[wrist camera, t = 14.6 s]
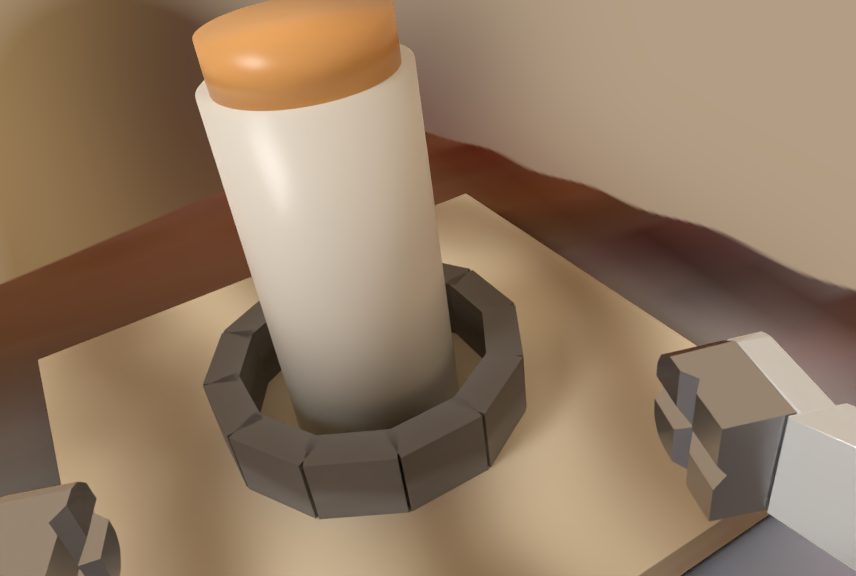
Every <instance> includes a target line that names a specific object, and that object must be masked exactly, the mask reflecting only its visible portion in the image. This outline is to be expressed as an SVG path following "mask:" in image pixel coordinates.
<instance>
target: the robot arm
mask: <svg viewBox="0 0 856 576" xmlns="http://www.w3.org/2000/svg"><path fill="white" fill-rule="evenodd" d="M656 376H657V378H658V379H659V381H660V382H661V384H662V385H663V389H662V390H661V391H660V392H659V394H658V395H657V396H656V397H655V402H654V418H655V422H656V427H657V432H658V435H659V438H660V440H661V442H662V445H663V447H664V449H665V451H666V452H667V454H668V456H669V458H670V459H671V461H673V462H675V463H676V464H678V465H680V466H682V467H684V468H686V469H687V478H686V486H687V487H688V489H689V491H690V492H691V494H692V496H693V497H694V499H695V500H696V502H697V504H698V505H699V507H700V508H701V510H702V512H703V513H704V515H705V517H706V518H707V520H708V521H709V522H710V521H715V520H720V519H724V518H729V517H734V516H739V515H744V514H748V513H753V512H758V511H763V510H768V511H767V513H769V514H770V515H772V516H773V517H775V518H776V519H778V520H779V521H781V522H782V523H784V524H785V525H787V526H788V527H790V528H791V529H793V530H794V531H796V532H797V533H799V534H800V535H802V536H803V537H805V538H806V539H808V540H809V541H811V542H812V543H814V544H815V545H817V546H818V547H820V548H821V549H823V550H824V551H826V552H827V553H829V554H830V555H832V556H833V557H835V558H836V559H838V560H839V561H841V562H842V563H844V564H845V565H847V566H848V567H850V568H851V569H853V570H854V571H856V407H855V406H852V405H850V404H847V403H845V404H840V405H836V404H835V403H834V402H833V401H832V400H831V399H830V398H829V397H828V396H827V395H826V394H825V393H824V392H823V391H822V390H821V389H820V388H819V387H818V385H817V384H816V383H815V382H814V381H813V380H812V379H811V378H810V377H809V376H808V375H807V374H806V373H805V372H804V371H803V370H802V369H801V368H800V367H799V365H798V364H797V363H796V362H795V361H794V360H793V359H792V358H791V357H790V356H789V355H788V354H787V353H786V352H785V351H784V350H783V349H782V348H781V346H780V345H779V344H778V343H777V342H776V341H775V340H774V339H773V338H772V337H771V336H770V335H769V334H766V333H764V332H762V331H761V332H757V333H752V334H748V335H744V336H739V337H735V338H731V339H728V340H723V341H719V342H714V343H710V344H705V345H701V346H697V347H692V348H688V349H683V350H679V351H674V352H670V353H666V354H661V356H660V358H659V360H658V362H657V373H656ZM96 499H97V498H96V497H95V495H94V494H93V492H92V491H91V489H90V488H89V486H88V485H87V483H84V482H73V483H68V484H63V485H58V486H53V487H48V488H42V489H37V490H32V491H27V492H22V493H17V494H11V495H6V496H4V497H1V498H0V576H120V572H121V554H120V545H119V541H118V538H117V535H116V531H115V529H114V528H113V526H112V524H111V522H110V521H109V519H107V518H104V517H102V516H100V515H98V514H96V513H94V512H93V511H94V507H95V503H96Z"/></svg>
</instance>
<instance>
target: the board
mask: <svg viewBox="0 0 856 576" xmlns="http://www.w3.org/2000/svg"><path fill="white" fill-rule="evenodd" d="M435 212H436V220H437V227H438V235H439V242H440V250H441V257H442V265H443V272H444V280H445V287H446V295H447V302H448V310H449V317H450V325H451V332H452V340H453V347H454V355H455V362H456V370H457V377H458V385H459V391H458V392H457V394H456V395H455V396H454V397H453V398H451V399H449V400H447V401H445V402H443V403H441V404H439V405H437V406H435V407H433V408H431V409H429V410H427V411H425V412H423V413H421V414H419V415H417V416H415V417H413V418H411V419H409V420H407V421H405V422H403V423H401V424H399V425H397V426H395V427H393V428H391V429H385V430H373V431H361V432H350V433H338V434H326V435H314V434H312V433H309V432H306V431H304V430H301V428H300V426H299V424H298V421H297V418H296V415H295V411H294V408H293V405H292V402H291V399H290V396H289V392H288V389H287V386H286V383H285V380H284V377H283V373H282V370H281V367H280V364H279V361H278V358H277V354H276V351H275V348H274V345H273V342H272V339H271V335H270V332H269V329H268V326H267V323H266V320H265V316H264V313H263V310H262V307H261V304H260V301H259V297H258V294H257V291H256V288H255V285H254V282H253V278H252V277H250V278H247V279H245V280H242V281H240V282H237V283H234V284H232V285H229V286H227V287H224V288H222V289H219V290H216V291H214V292H211V293H209V294H206V295H204V296H201V297H198V298H196V299H193V300H191V301H188V302H186V303H183V304H180V305H178V306H175V307H173V308H170V309H168V310H165V311H162V312H160V313H157V314H155V315H152V316H149V317H147V318H144V319H142V320H139V321H137V322H134V323H131V324H129V325H126V326H124V327H121V328H119V329H116V330H113V331H111V332H108V333H106V334H103V335H101V336H98V337H95V338H93V339H90V340H88V341H85V342H83V343H80V344H77V345H75V346H72V347H70V348H67V349H65V350H62V351H59V352H57V353H54V354H52V355H49V356H46V357H44V358H41V359H39V360H38V363H39V368H40V374H41V379H42V385H43V390H44V395H45V401H46V406H47V411H48V417H49V422H50V427H51V433H52V438H53V443H54V449H55V454H56V460H57V465H58V470H59V476H60V481H61V485H63V484H68V483H73V482H84V483H87V485H88V486H89V488H90V489H91V491H92V492H93V494H94V495H95V497H96V498H97V499H96V503H95V507H94V511H93V512H94V513H96V514H98V515H100V516H102V517H104V518H107V519H109V521H110V522H111V524H112V526H113V528H114V529H115V531H116V535H117V538H118V541H119V545H120V554H121V572H120V576H680V575H682V574H683V573H685V572H686V571H688V570H689V569H691V568H692V567H693V566H695V565H696V564H698V563H699V562H701V561H702V560H704V559H705V558H707V557H708V556H709V555H711V554H712V553H714V552H715V551H717V550H718V549H720V548H721V547H723V546H724V545H725V544H727V543H728V542H730V541H731V540H733V539H734V538H736V537H737V536H739V535H740V534H742V533H743V532H744V531H746V530H747V529H749V528H750V527H752V526H753V525H755V524H756V523H758V522H759V521H760V520H762V519H763V518H765V517H766V516H768V515H769V513H767V511H768V510H763V511H758V512H753V513H748V514H744V515H739V516H734V517H729V518H724V519H720V520H715V521H710V522H709V521H708V520H707V518H706V517H705V515H704V513H703V512H702V510H701V508H700V507H699V505H698V504H697V502H696V500H695V499H694V497H693V496H692V494H691V492H690V491H689V489H688V487H687V486H686V478H687V469H686V468H684V467H682V466H680V465H678V464H676V463H675V462H673V461H671V459H670V458H669V456H668V454H667V452H666V451H665V449H664V447H663V445H662V442H661V440H660V438H659V435H658V432H657V427H656V422H655V418H654V402H655V397H656V396H657V395H658V394H659V392H660V391H661V390H662V389H663V385H662V384H661V382H660V381H659V379H658V378H657V376H656V373H657V362H658V360H659V358H660V356H661V354H666V353H670V352H674V351H679V350H683V349H688V348H692V347H697V346H696V345H695V344H693V343H692V342H690V341H689V340H687V339H686V338H684V337H682V336H681V335H679V334H678V333H676V332H675V331H673V330H672V329H670V328H669V327H667V326H666V325H664V324H663V323H661V322H660V321H658V320H657V319H655V318H654V317H652V316H651V315H649V314H648V313H646V312H645V311H643V310H642V309H640V308H639V307H637V306H636V305H634V304H632V303H631V302H629V301H628V300H626V299H625V298H623V297H622V296H620V295H619V294H617V293H616V292H614V291H613V290H611V289H610V288H608V287H607V286H605V285H604V284H602V283H601V282H599V281H598V280H596V279H595V278H593V277H592V276H590V275H589V274H587V273H586V272H584V271H583V270H581V269H579V268H578V267H576V266H575V265H573V264H572V263H570V262H569V261H567V260H566V259H564V258H563V257H561V256H560V255H558V254H557V253H555V252H554V251H552V250H551V249H549V248H548V247H546V246H545V245H543V244H542V243H540V242H539V241H537V240H536V239H534V238H533V237H531V236H529V235H528V234H526V233H525V232H523V231H522V230H520V229H519V228H517V227H516V226H514V225H513V224H511V223H510V222H508V221H507V220H505V219H504V218H502V217H501V216H499V215H498V214H496V213H495V212H493V211H492V210H490V209H489V208H487V207H486V206H484V205H483V204H481V203H480V202H478V201H476V200H475V199H473V198H472V197H470V196H469V195H467V194H464V195H461V196H458V197H456V198H453V199H451V200H448V201H446V202H443V203H440V204H438V205H435Z"/></svg>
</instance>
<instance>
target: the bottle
mask: <svg viewBox="0 0 856 576" xmlns="http://www.w3.org/2000/svg"><path fill="white" fill-rule="evenodd" d="M192 40H193V43H194V46H195V50H196V53H197V56H198V60H199V63H200V66H201V69H202V73H203V76H204V79H205V80H204V81H203V82H202V83H201V84H200V86H199V87H198V89H197V90H196V94H195V97H196V101H197V104H198V107H199V111H200V114H201V117H202V120H203V123H204V127H205V130H206V132H207V136H208V139H209V142H210V145H211V148H212V152H213V155H214V158H215V161H216V165H217V168H218V171H219V174H220V177H221V180H222V183H223V187H224V190H225V193H226V196H227V199H228V203H229V206H230V209H231V212H232V215H233V218H234V222H235V225H236V228H237V231H238V234H239V237H240V240H241V244H242V247H243V250H244V253H245V256H246V259H247V263H248V266H249V269H250V272H251V275H252V278H253V282H254V285H255V288H256V291H257V294H258V297H259V301H260V304H261V307H262V310H263V313H264V316H265V320H266V323H267V326H268V329H269V332H270V335H271V339H272V342H273V345H274V348H275V351H276V354H277V358H278V361H279V364H280V367H281V370H282V373H283V377H284V380H285V383H286V386H287V389H288V392H289V396H290V399H291V402H292V405H293V408H294V411H295V415H296V418H297V421H298V424H299V426H300V428H301V430H304V431H306V432H309V433H312V434H314V435H326V434H338V433H350V432H361V431H373V430H385V429H391V428H393V427H395V426H397V425H399V424H401V423H403V422H405V421H407V420H409V419H411V418H413V417H415V416H417V415H419V414H421V413H423V412H425V411H427V410H429V409H431V408H433V407H435V406H437V405H439V404H441V403H443V402H445V401H447V400H449V399H451V398H453V397H454V396H455V395H456V394H457V392H458V391H459V385H458V377H457V370H456V362H455V355H454V347H453V340H452V332H451V325H450V317H449V310H448V302H447V295H446V287H445V280H444V272H443V265H442V257H441V250H440V242H439V235H438V227H437V220H436V212H435V205H434V197H433V190H432V182H431V175H430V167H429V160H428V152H427V145H426V137H425V130H424V122H423V115H422V108H421V100H420V93H419V85H418V79H417V70H416V63H415V57H414V54H413V52H412V51H411V50H410V49H409V48H408V47H406V46H404V45H402V44H399V37H398V30H397V24H396V17H395V10H394V3H393V1H392V0H271V1H267V2H263V3H259V4H255V5H252V6H248V7H245V8H242V9H238V10H236V11H233V12H230V13H227V14H225V15H222V16H220V17H218V18H216V19H214V20H211V21H210V22H208V23H206V24H205V25H203V26H202V27H200V28H199V29H198V30H197V31H196V32H195V34H194V35H193V38H192Z"/></svg>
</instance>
